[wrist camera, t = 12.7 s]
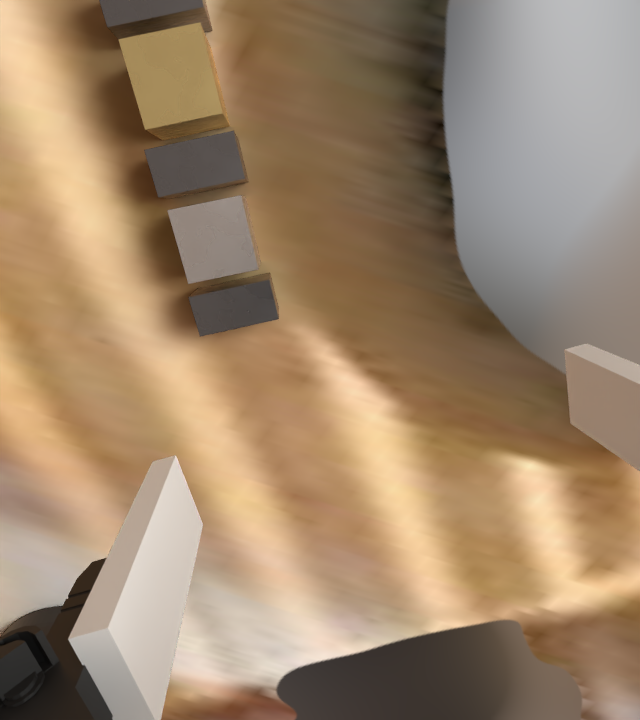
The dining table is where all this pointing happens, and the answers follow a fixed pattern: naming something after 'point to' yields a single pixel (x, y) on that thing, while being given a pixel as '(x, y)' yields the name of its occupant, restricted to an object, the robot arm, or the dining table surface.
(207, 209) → the light gray cube
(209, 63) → the yellow cube
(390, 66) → the dining table surface
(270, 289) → the dark grey cubes
